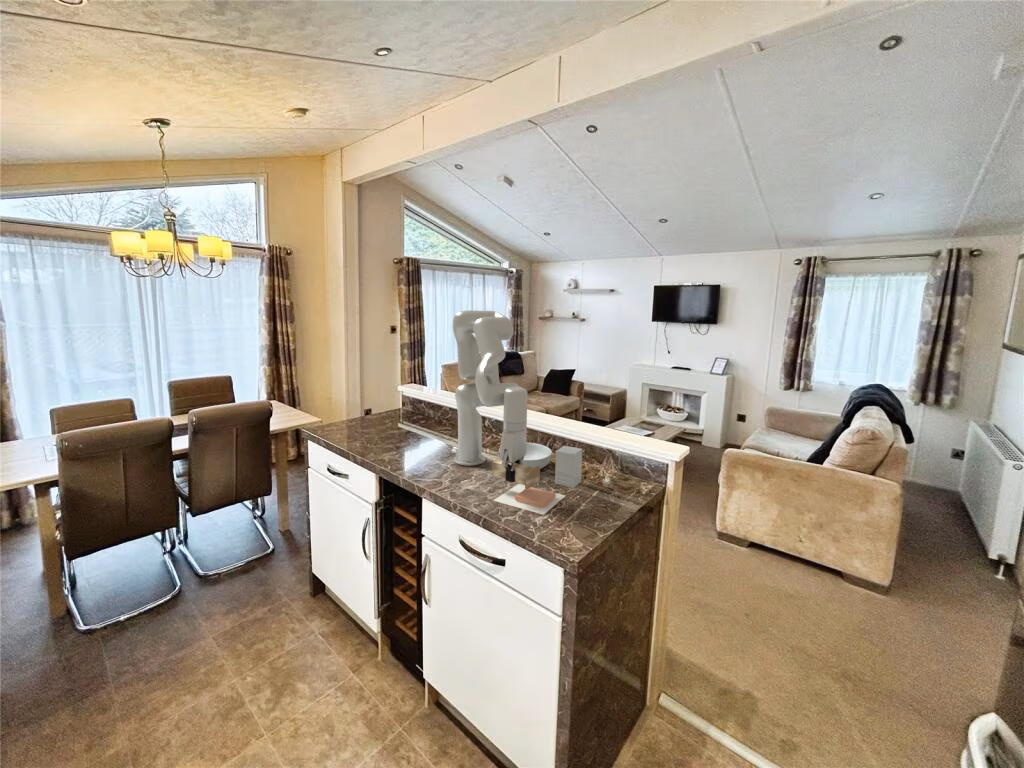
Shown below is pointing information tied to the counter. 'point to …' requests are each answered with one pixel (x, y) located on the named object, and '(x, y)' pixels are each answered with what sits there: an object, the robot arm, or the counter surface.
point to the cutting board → (510, 500)
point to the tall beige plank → (517, 473)
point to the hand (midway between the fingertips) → (513, 478)
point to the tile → (535, 497)
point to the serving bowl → (536, 455)
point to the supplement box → (568, 466)
